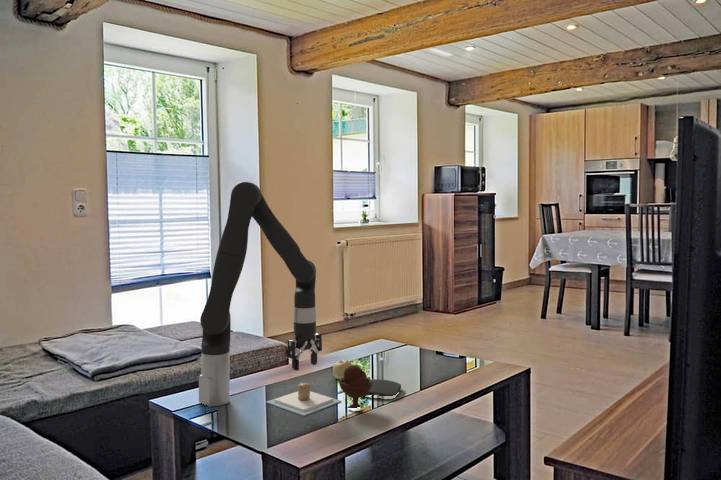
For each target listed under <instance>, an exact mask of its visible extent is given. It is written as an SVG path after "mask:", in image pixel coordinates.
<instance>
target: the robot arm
mask: <svg viewBox="0 0 721 480" xmlns="http://www.w3.org/2000/svg"><path fill="white" fill-rule="evenodd" d="M227 213H228V214H227V219H226V222H225V226H224V229H223V231H222V235H221V238H220V242H219V245H218V247H217V253H216V256H215V260H214V265H213V270H212V275H211V276H212V277H211V282H210V283H211V285H210V291H209V293H208V297H207V299H206V303H205V305H204V307H203V310H202V313H201V315H200V320H199V322H200V325H201V328H202V336H201V338H202V339H201V349H200V350H201V356H200V357H201V361H200V362H201V370H200V371H201V372H200V373H201V374H199V375H198V403H199V402H200V403H199V404H201V403H202V404H201V405H203V404H204V406H206V405H207V406H206V407H209V408H211V407H218V406H219V407H220V406H225V405H226V404H229V402H230V381H231V380H230V374H231V373H230V369H231V368H230V365H231V364H230V359H231V358H230V354H231V353H230V350H231V349H230V347H231V328H232V327H231V321H232V320H231V312H230V311H231V310H230V309H231V302H232V299H233V298H232V297H233V294H234V292H235V290H236V286H237V285H238V283H239V280H240V277H241V274H242V271H243V267H244V263H245V260H246V256H247V251H248V241H249V228H250V223H251V219H254V221H255V222H256V224H257V225H258V226H259V228H260V229H261V231H262V232H263V234H264V236H265V238H266V239H267V241H268V243H269V244H270V245H271V247H272V248H273V249H274V251H275V252H276V253H277V255H278V256H279V257H280V259H282V261H283V262H284V264H285V266H286V267H287V269H288V270H289V272H290V274H291V275H292V277H293V278H294V279H295V289H294V290H295V292H294V296H293V297H294V302H293V304H294V305H293V306H294V307H293V334H294V339H288V340H287V347H286V348H287V349H286V351H287V352H286V353H287V354H286V358H288V359H291V367H292V370H294V371H299V370H300V359H299V358H300V356H301V355H302V354H303V352H305V351H306V350H309V351H310V352H311V353H310V365H313V366H316V365H317V364H318V354H319V352H322V350H323V343H322V341H323V340H322V339H323V337H322V334H321V333H318V332H317V310H316V292H315V290H316V281H317V280H316V278H317V268H316V266H315V264H314V263H313V262H312V261H311V260H309V259H307V258H306V256H304V254H303V253H302V251H301V248H300V246H299V245H298V243H296V241H295V239H294V238H293V236H291V234H290V233H289V232H288V230H286V228H285V227H284V225H283V224H282V223H281V222H280V220H278V218H277V217H276V216H275V214H274V212H273V211H272V209H271V208H270V206H269V205H268V203H267V201H266V199H265V197H264V196H263V194H262V192H261V189H260V188H259V186H258V185H256V184H255V183H253V182H250V181H240V182H238V183H237V184H236V185H234V187H233V188H232V191H231V193H230V199H229V207H228V212H227Z"/></svg>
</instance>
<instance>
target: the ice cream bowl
mask: <svg viewBox="0 0 721 480" xmlns="http://www.w3.org/2000/svg"><path fill="white" fill-rule="evenodd" d="M367 376H368V375H367V373H366V372H365V371H364V370H363V369H361V367H360V366H358V365H357V364H356V365H355V364H354V365H353V364H352V365H351V366H349V367H347V368H346V369H345V371H344V377H343V378H342V379H341V380H338V383H339V386H340V390H341V391H342V392H343V393H344V394H345V395H346V396H348V397H350V398H352V404H351V405H348V407H347V408H357V407H360V405H361V404H359V399H360V398H363V397H362V396H364V395H365V394H366V393H367V392H368V391H369V390H370V389H371V387H372V384H373V381H372V380H373V379H372V378H368V377H367Z"/></svg>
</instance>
